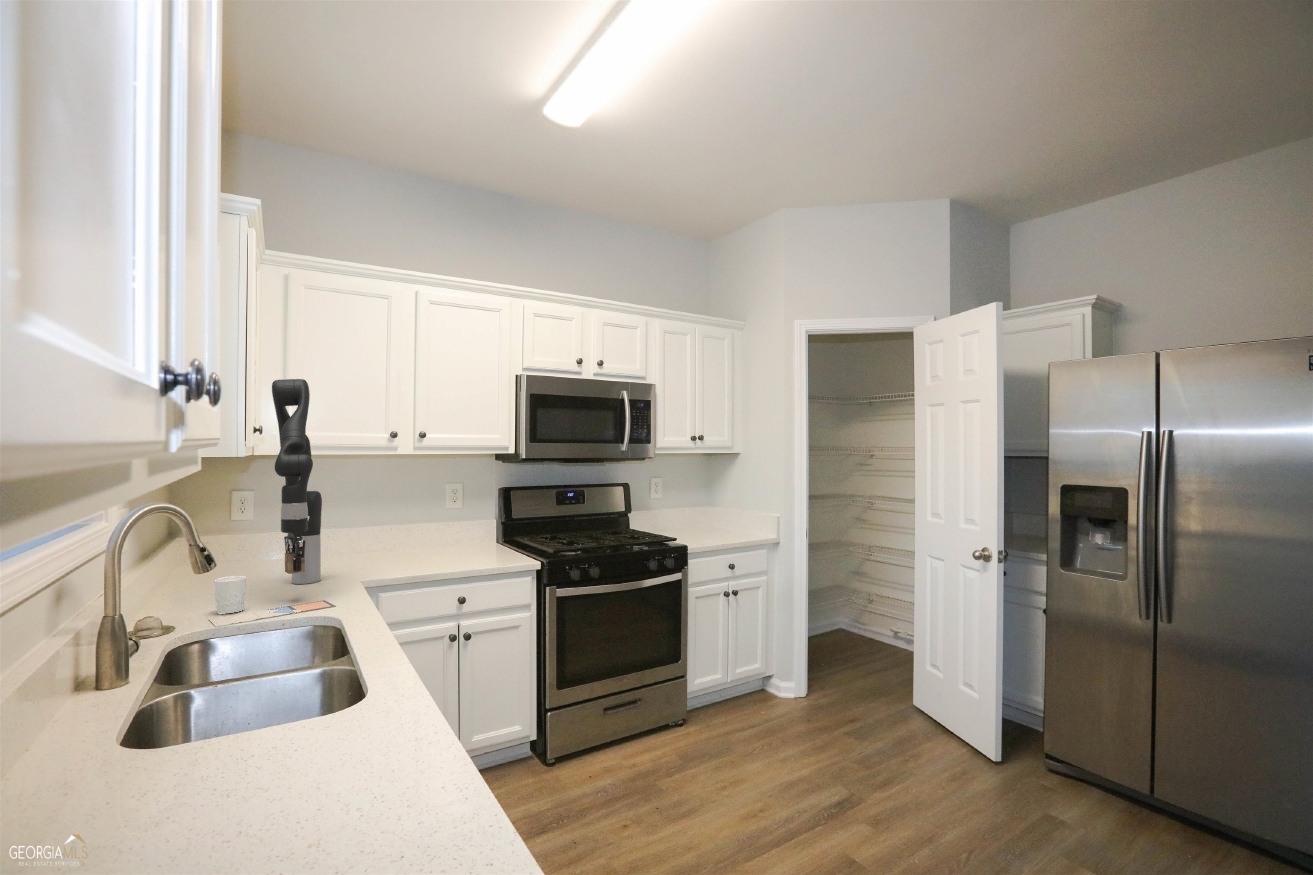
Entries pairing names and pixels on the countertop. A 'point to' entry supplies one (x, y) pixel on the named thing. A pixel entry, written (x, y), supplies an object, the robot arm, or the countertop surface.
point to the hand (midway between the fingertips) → (294, 569)
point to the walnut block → (290, 563)
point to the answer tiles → (304, 607)
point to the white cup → (230, 594)
